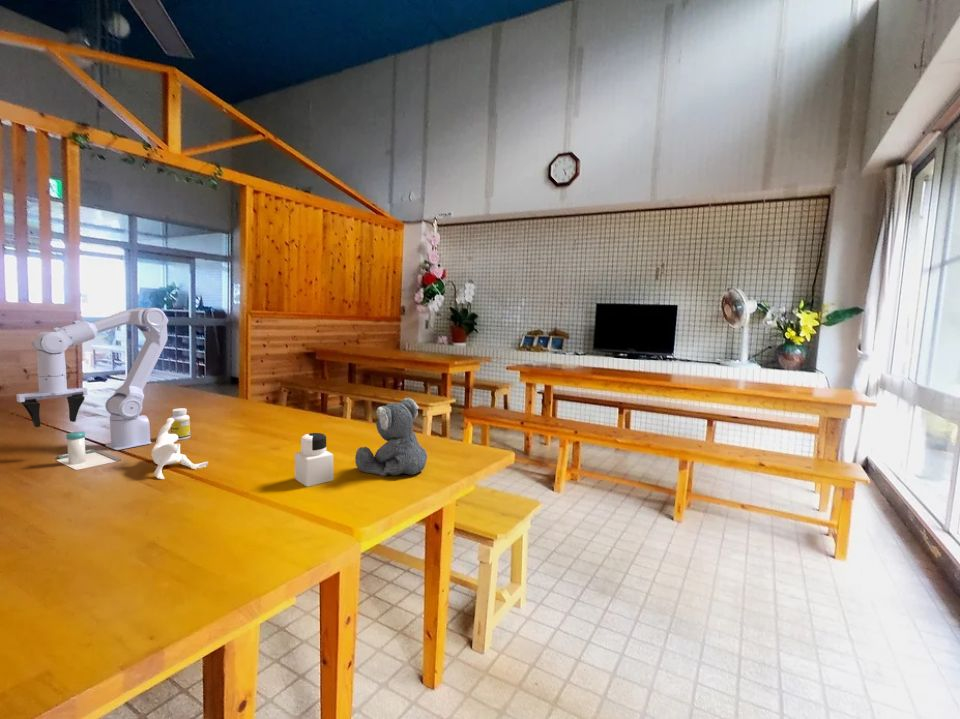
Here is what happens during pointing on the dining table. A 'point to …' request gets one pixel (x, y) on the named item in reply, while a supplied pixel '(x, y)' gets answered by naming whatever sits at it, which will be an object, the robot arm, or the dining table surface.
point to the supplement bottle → (181, 423)
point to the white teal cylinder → (76, 447)
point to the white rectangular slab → (91, 460)
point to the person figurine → (169, 451)
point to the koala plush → (394, 442)
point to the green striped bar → (67, 454)
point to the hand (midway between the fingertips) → (55, 423)
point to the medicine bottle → (313, 461)
